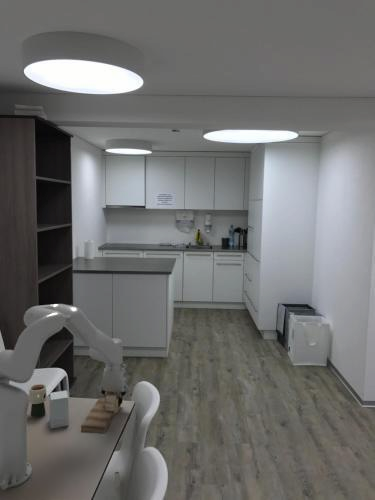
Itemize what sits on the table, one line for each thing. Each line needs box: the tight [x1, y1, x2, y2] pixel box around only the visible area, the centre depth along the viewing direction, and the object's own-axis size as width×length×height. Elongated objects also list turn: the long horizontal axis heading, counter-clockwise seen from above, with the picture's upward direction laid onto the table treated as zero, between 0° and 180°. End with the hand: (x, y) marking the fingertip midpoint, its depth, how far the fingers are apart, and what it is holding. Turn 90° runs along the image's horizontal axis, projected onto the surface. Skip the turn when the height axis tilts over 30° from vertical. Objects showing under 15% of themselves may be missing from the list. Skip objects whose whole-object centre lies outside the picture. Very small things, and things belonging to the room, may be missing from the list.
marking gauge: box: [106, 391, 122, 414], centre depth 179 cm, size 9×5×7 cm, turn 175°
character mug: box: [28, 383, 47, 418], centre depth 174 cm, size 11×7×13 cm, turn 23°
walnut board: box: [80, 397, 116, 434], centre depth 174 cm, size 24×10×3 cm, turn 175°
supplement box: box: [49, 390, 69, 429], centre depth 168 cm, size 7×7×13 cm
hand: (113, 404), depth 179 cm, fingers closed on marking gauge, 5 cm apart
